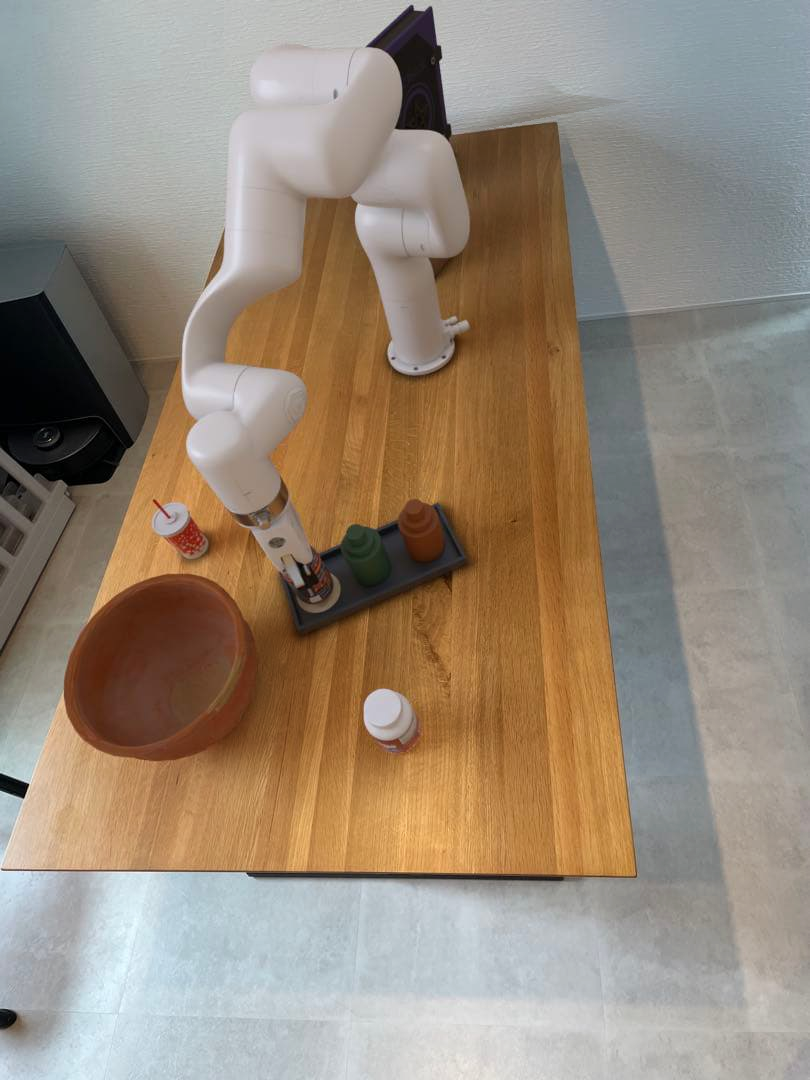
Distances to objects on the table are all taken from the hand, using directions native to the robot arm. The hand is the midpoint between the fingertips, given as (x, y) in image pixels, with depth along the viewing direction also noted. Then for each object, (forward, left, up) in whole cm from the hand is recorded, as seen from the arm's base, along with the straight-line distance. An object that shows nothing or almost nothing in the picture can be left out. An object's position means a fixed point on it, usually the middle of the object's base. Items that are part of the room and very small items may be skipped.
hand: (302, 566), depth 98 cm
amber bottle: (-18, 0, -8) cm, 20 cm away
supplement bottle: (0, 0, -7) cm, 7 cm away
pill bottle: (-4, +25, -9) cm, 27 cm away
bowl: (+21, +8, -9) cm, 24 cm away
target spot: (0, 0, -8) cm, 8 cm away
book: (-52, -91, -9) cm, 105 cm away
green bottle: (-9, 0, -8) cm, 12 cm away
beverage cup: (+17, -18, -9) cm, 26 cm away
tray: (-9, 0, -9) cm, 12 cm away
